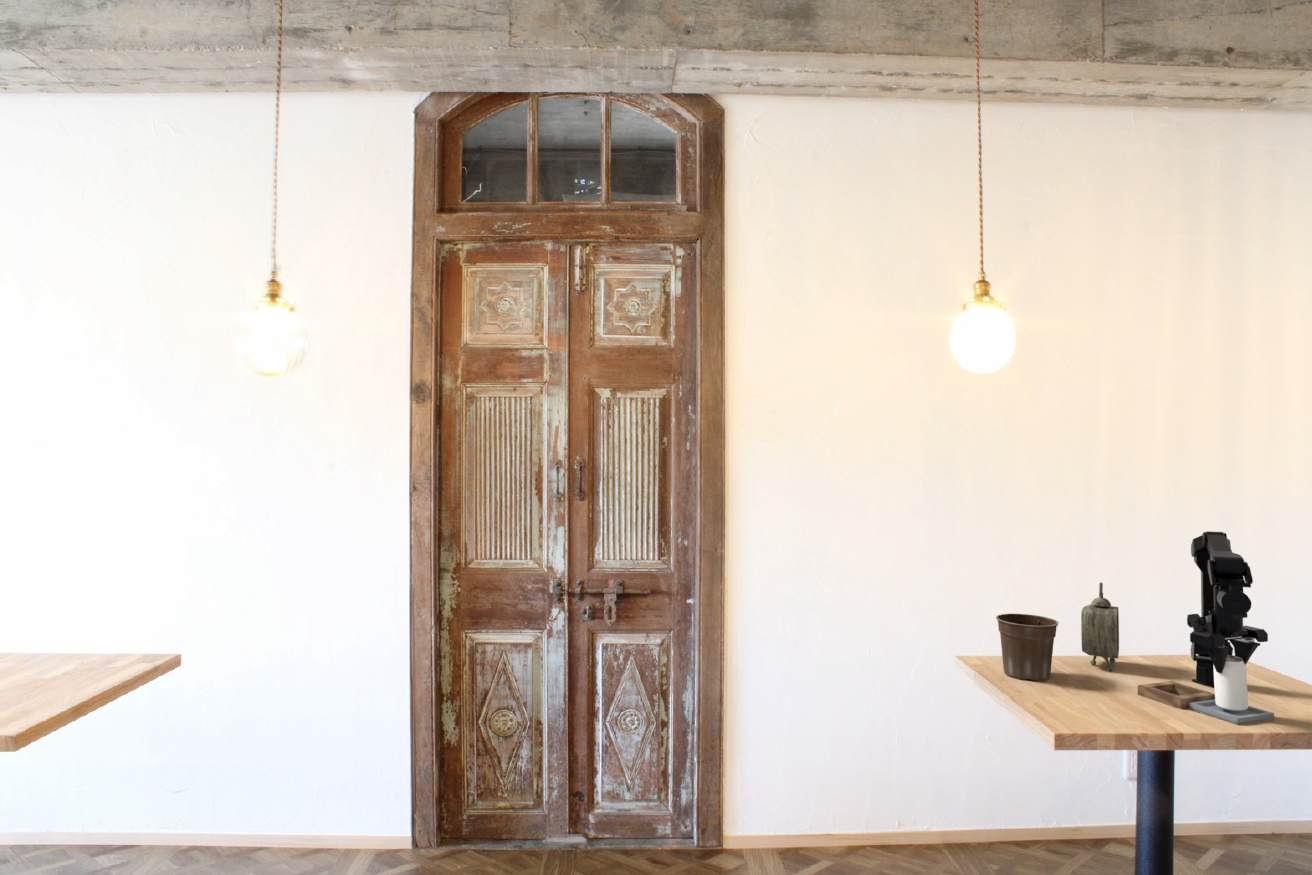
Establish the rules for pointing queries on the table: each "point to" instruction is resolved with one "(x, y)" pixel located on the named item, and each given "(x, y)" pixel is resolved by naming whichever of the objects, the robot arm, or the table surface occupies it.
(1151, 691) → the wooden square frame
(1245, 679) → the can
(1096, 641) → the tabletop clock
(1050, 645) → the plant pot
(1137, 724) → the table surface
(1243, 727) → the table surface
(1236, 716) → the tray
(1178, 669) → the table surface
